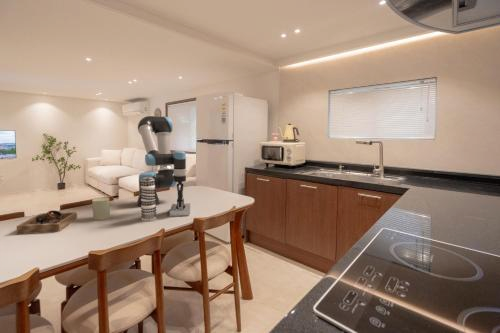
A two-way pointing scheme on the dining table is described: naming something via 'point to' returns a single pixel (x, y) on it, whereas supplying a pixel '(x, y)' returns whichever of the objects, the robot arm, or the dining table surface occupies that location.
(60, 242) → the dining table surface
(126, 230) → the dining table surface
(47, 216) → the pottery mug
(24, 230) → the tray
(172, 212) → the socket plate
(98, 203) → the can
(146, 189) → the decorative candle
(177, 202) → the plug
